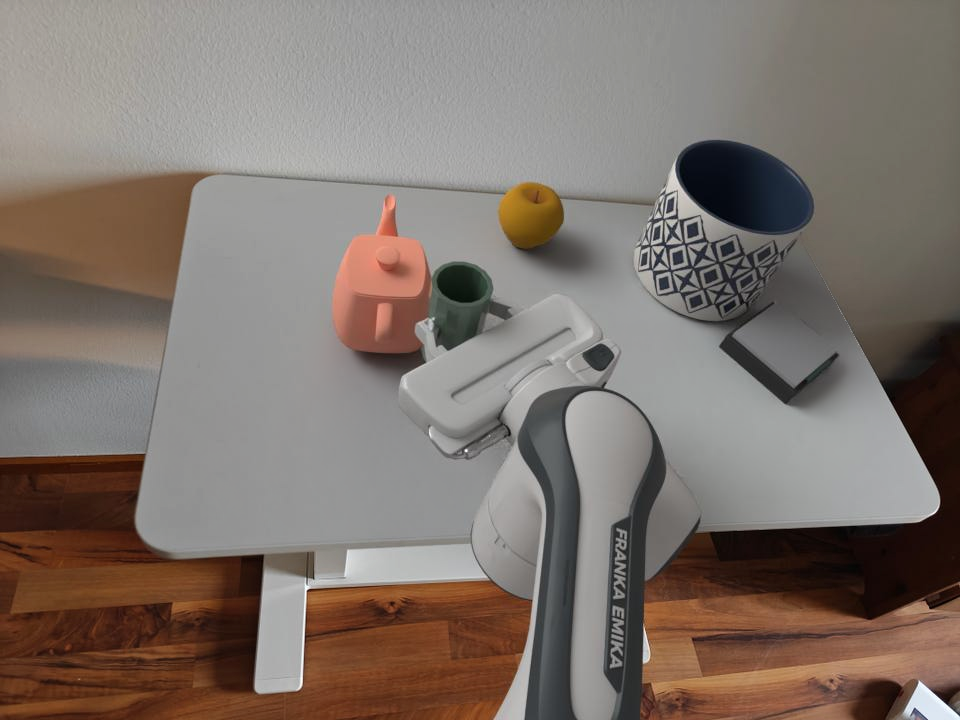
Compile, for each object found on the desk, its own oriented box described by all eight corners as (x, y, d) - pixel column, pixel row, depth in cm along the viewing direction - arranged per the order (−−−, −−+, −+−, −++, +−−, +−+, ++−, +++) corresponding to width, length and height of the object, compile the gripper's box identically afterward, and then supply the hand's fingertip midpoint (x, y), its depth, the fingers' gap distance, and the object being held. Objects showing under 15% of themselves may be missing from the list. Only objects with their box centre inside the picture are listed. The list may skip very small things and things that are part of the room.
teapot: (431, 388, 84) (444, 321, 75) (327, 383, 82) (326, 314, 73) (428, 264, 96) (439, 193, 87) (337, 257, 94) (338, 184, 85)
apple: (549, 271, 99) (565, 222, 92) (485, 254, 99) (497, 203, 92) (558, 229, 105) (575, 180, 98) (499, 212, 105) (511, 162, 98)
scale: (829, 365, 97) (843, 351, 95) (785, 404, 92) (798, 389, 89) (764, 312, 101) (776, 297, 99) (718, 346, 96) (729, 331, 93)
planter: (622, 225, 108) (662, 131, 95) (736, 237, 111) (790, 147, 98) (643, 319, 97) (692, 226, 84) (769, 329, 100) (835, 241, 87)
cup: (486, 362, 73) (504, 295, 66) (437, 380, 71) (450, 314, 63) (459, 323, 76) (473, 254, 68) (411, 339, 74) (420, 270, 66)
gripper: (450, 487, 62) (358, 376, 67) (612, 381, 72) (521, 291, 77) (460, 449, 57) (360, 332, 62) (633, 341, 67) (534, 248, 72)
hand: (450, 309), depth 70 cm, fingers closed on cup, 6 cm apart
